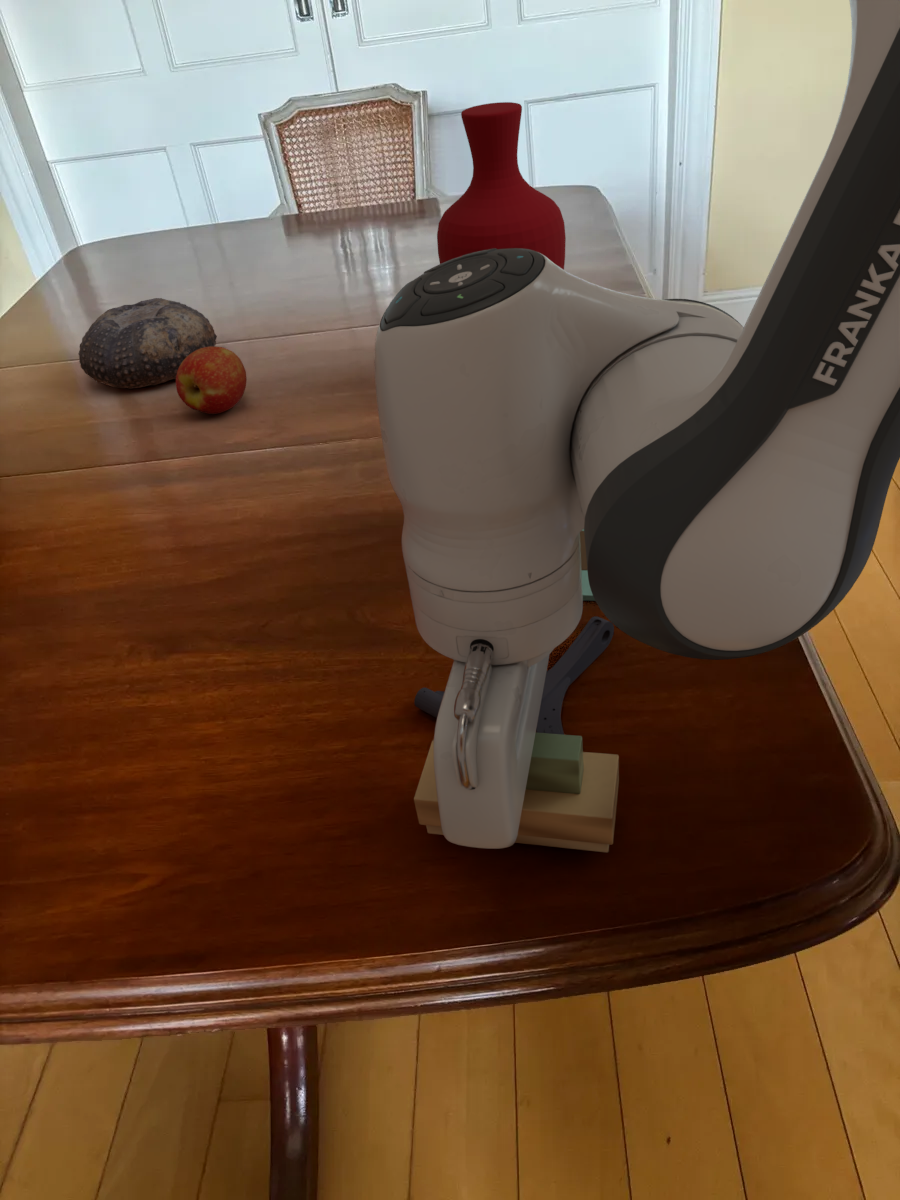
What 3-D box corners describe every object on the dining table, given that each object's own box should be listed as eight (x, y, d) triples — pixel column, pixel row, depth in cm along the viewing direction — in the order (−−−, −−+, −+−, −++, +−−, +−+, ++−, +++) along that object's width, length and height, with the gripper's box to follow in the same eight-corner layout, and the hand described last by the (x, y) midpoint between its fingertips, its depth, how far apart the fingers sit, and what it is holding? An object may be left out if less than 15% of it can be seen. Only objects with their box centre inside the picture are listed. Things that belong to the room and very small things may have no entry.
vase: (432, 392, 111) (396, 124, 93) (483, 346, 121) (460, 95, 103) (542, 406, 105) (527, 121, 87) (586, 355, 115) (581, 90, 96)
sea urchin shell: (144, 404, 117) (109, 329, 111) (73, 401, 128) (39, 334, 123) (249, 347, 127) (221, 277, 122) (174, 350, 139) (146, 286, 134)
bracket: (689, 673, 67) (690, 644, 65) (576, 800, 59) (574, 772, 57) (534, 608, 75) (532, 582, 74) (415, 713, 67) (410, 685, 65)
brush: (619, 793, 58) (618, 719, 54) (613, 857, 54) (611, 783, 50) (439, 777, 61) (425, 705, 57) (421, 837, 57) (405, 765, 53)
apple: (176, 420, 113) (156, 360, 108) (216, 391, 119) (199, 333, 114) (227, 426, 110) (209, 365, 105) (265, 397, 116) (250, 337, 111)
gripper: (529, 737, 37) (547, 924, 46) (575, 483, 53) (583, 658, 61) (385, 727, 39) (428, 910, 47) (471, 483, 54) (492, 654, 63)
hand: (516, 766), depth 54 cm, fingers closed on brush
